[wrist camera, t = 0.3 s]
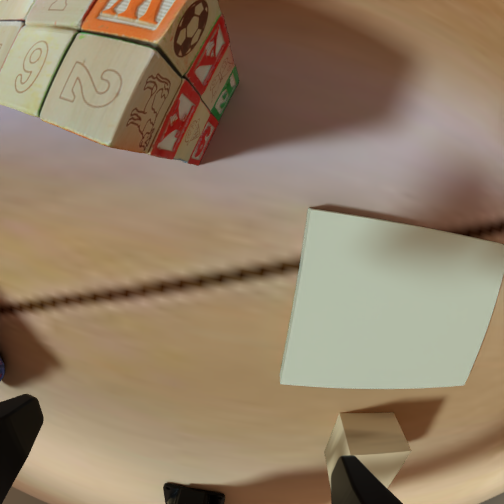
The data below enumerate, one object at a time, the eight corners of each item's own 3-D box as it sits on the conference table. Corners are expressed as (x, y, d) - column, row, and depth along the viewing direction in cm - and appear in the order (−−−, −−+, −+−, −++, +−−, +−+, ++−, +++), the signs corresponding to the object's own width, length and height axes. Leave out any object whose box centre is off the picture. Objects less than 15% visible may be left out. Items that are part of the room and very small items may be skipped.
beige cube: (374, 450, 24) (387, 488, 19) (324, 451, 24) (331, 492, 19) (393, 411, 23) (411, 450, 18) (339, 412, 23) (350, 455, 18)
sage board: (458, 378, 22) (464, 385, 21) (279, 374, 22) (280, 384, 21) (500, 243, 19) (509, 246, 18) (308, 207, 19) (311, 209, 18)
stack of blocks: (-3, 91, 18) (-105, 72, 6) (27, 28, 17) (-65, -13, 5) (201, 167, 19) (106, 150, 7) (243, 80, 18) (212, -38, 6)
